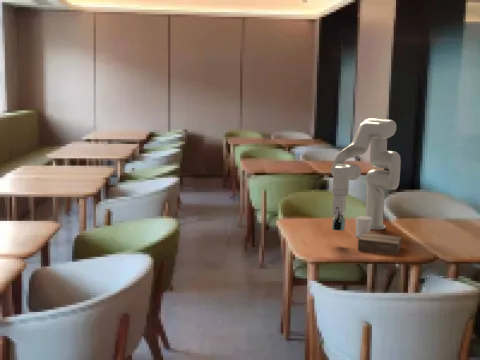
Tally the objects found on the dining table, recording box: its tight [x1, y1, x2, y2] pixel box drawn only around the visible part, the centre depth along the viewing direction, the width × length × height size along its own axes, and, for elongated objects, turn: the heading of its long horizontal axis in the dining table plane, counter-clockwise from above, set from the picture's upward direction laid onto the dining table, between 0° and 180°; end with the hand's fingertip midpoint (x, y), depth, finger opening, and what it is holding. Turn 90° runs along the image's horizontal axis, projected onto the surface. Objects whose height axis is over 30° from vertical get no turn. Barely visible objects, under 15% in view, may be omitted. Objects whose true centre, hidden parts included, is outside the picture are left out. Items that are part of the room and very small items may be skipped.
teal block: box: [331, 217, 346, 232], centre depth 279 cm, size 5×5×5 cm
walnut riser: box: [357, 232, 402, 256], centre depth 274 cm, size 14×18×5 cm
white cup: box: [355, 215, 372, 239], centre depth 293 cm, size 8×8×10 cm
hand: (338, 227), depth 279 cm, fingers closed on teal block, 4 cm apart
